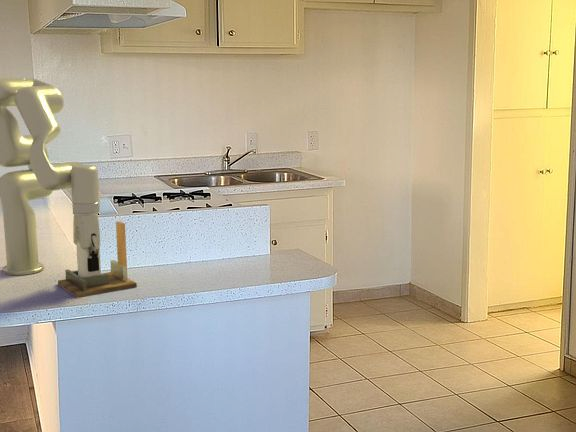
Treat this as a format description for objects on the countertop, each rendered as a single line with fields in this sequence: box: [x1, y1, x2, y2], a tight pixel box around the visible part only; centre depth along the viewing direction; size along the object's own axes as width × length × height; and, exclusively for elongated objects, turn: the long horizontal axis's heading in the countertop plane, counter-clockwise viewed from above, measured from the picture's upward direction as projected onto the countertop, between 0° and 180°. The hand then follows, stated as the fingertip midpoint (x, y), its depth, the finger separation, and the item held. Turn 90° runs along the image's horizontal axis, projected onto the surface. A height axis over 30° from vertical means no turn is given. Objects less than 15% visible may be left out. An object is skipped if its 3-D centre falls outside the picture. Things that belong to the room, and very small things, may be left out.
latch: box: [110, 220, 128, 281], centre depth 233 cm, size 10×2×16 cm, turn 34°
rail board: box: [57, 271, 138, 298], centre depth 230 cm, size 16×18×1 cm
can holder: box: [64, 269, 109, 292], centre depth 228 cm, size 15×9×3 cm, turn 34°
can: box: [76, 242, 102, 278], centre depth 228 cm, size 6×6×12 cm
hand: (89, 267), depth 228 cm, fingers closed on can, 6 cm apart
